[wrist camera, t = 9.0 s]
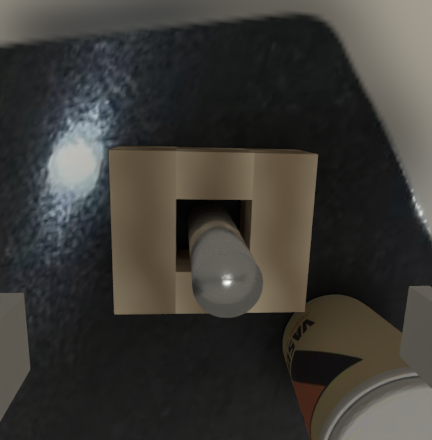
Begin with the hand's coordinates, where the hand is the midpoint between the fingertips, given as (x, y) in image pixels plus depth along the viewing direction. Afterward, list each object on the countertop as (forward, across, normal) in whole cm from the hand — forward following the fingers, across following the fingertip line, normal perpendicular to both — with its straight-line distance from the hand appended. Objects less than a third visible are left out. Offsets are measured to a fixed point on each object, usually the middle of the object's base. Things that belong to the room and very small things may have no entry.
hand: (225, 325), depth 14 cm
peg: (+15, +1, 0) cm, 15 cm away
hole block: (+15, +1, 0) cm, 15 cm away
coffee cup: (+15, +11, -9) cm, 21 cm away
